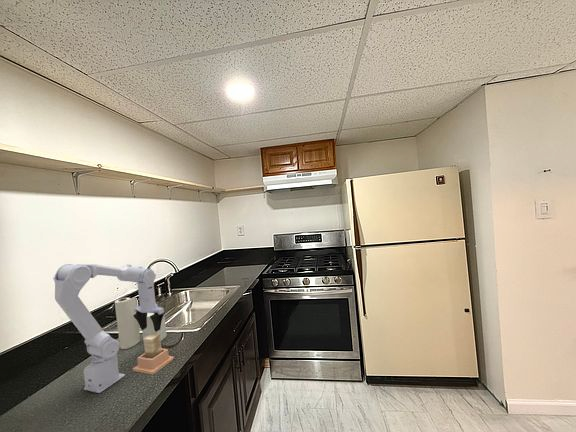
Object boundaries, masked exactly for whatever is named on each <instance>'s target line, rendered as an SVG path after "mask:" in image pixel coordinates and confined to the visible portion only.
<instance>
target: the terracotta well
mask: <svg viewBox="0 0 576 432" xmlns="http://www.w3.org/2000/svg"><path fill="white" fill-rule="evenodd" d="M161 349H162V353H160V354H159V355H157V356H156V357H154V358H153V359H150V358H146V356H145V352H144V353H142V354H141V355H139V356H137V358H136V360H137V365H136V366H135V367H132V372H136V373H142V374H147V375H152V376H154V375H155V374H156V373H158V372H159V371H161V369H163V368H164V367H166V366H167V365H168V364H170V363H171V362H172V361H174V360H173V359H175V357H174V356H171V355H170V354H169V349H167V348H162V347H161ZM169 362H170V363H169Z"/></svg>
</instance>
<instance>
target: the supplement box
mask: <svg viewBox="0 0 576 432" xmlns="http://www.w3.org/2000/svg"><path fill="white" fill-rule="evenodd" d="M153 314H154V313H147V328H146V329H144V330H141V332H142V340H143V342H144V338H146V337H147V336H149V335H151V334H159V335H160V340H161V342H162V341H163V340H164V339H166V337H167V335H168V334H167V327H166V326H167V325H166V318H165V315H164V316H163V318H162V322H161V327H160V330H158V331H157V332H155V330H154V325H153V322H152V320H151V318H150V316H151V315H153Z"/></svg>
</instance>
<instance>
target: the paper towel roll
mask: <svg viewBox="0 0 576 432" xmlns="http://www.w3.org/2000/svg"><path fill="white" fill-rule="evenodd" d="M114 307H115V317H116V323H117V332H118V342H119V344H120V347H119V349H120V350H126V349H127V350H128V349H130V348H132V347H135V346H136V345H137V344H138V343H140V342H141V340H142V339H141V333H140V325H139V323H138V321H137V320H136V319H135V318H134V316H133V315H134V314H136V312H134V308H135V307H137V298H136V296H134V297H132V298H131V297H122V298H119V299H116V300H115V301H114Z"/></svg>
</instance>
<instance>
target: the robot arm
mask: <svg viewBox="0 0 576 432" xmlns="http://www.w3.org/2000/svg"><path fill="white" fill-rule="evenodd" d="M97 276H105V277H106V276H107V277H116V278H117V280H119V281H121V282H131V283H136V284H137V291H138V299H139V305H138V306H137V305H136V306H137V307H135V308H134V312H136V314H134V315H133V316H134V318H135V319H136V320H137V321H138V323H139V329H140V330H141V331H142V330H144V329H146V328H147V313H154V314H153V315H151V316H150V318H151V320H152V322H153V325H154V330H155V332H157V331H158V330H160V327H161V322H162V318H163V316H165V314H166V313H165V311H164V307H160V306H159V305H158V304H157V302H156V297H155V296H156V294H155V279H156V277H157V273H155V271H154V270H153V269H152V268H144V267H143V266H138V267H137V266H132V264H126V265H122V266H120V267H119V268H118V267H113V266H108V265H101V264H92V263H91V264H89V263H88V264H86V263H85V264H81V263H80V264H73V263H66V264H64V265H61V266H60V267H58V269H57V270H56V272H55V274H54V275H53V281H54V300H55V301H56V303H57V304H58V306H59V307H60V308H61V310H62V311H63V312H64V313H65V314H66V316H67V317H68V318H69V320H70V321H71V323H73V325H74V326H75V328H77V330H78V331H79V333H80V334H81V335H82V337H83V338H84V344H85V345H86V351H87V353H88V354H89V355H91V362H90V363H89V364H88V365H86V366H85V367H84V369H83V378H84V379H83V381H84V388H83V389H84V390H85V391H89V392H91V393H92V392H93V393H97V394H101V393H102V392H104V391H105V390H107V389H108V388H109V387H111V386H112V385H114V384H116V383H117V382H118V381H120V380H121V379H122V378H124V377H125V376H126V374H124V373H122V372H121V373H120V371H119V363H118V361H119V360H118V353H119V350H120V343H119V340H118V339H115V338H113V337H112V336H111V335H110V334H109V333H107V332H106V331H104V330H103V328H102V327H101V326H100V324H99V322H98V321H97V320H96V319H95V318H94V315H92V313H91V311H90V310H89V309H88V308H87V306H86V305H85V303H84V302H83V301H82V299H81V298H80V297H79V294H80V292H81V290H82V289H83V288H84V286H86V285H87V283H88V282H89V280H90V279H94V278H96V277H97Z"/></svg>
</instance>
